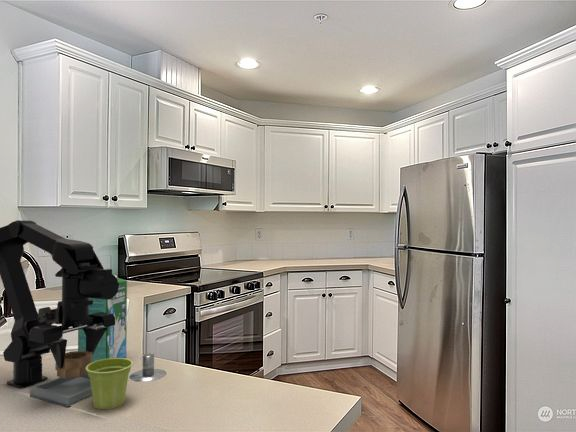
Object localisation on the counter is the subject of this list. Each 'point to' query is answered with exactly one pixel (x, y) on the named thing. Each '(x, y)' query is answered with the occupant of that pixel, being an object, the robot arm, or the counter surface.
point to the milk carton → (116, 334)
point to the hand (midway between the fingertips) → (74, 363)
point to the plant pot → (109, 381)
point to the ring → (74, 364)
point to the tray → (63, 390)
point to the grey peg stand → (148, 371)
